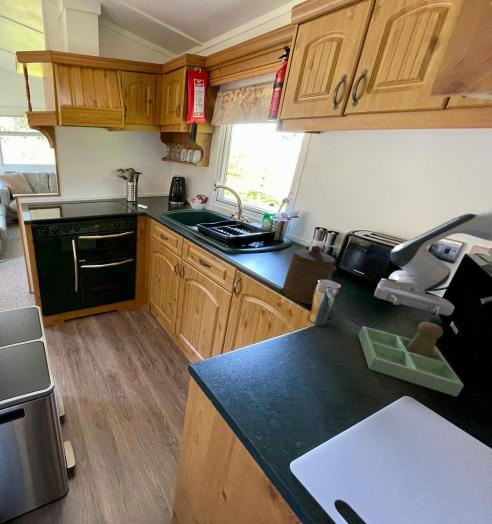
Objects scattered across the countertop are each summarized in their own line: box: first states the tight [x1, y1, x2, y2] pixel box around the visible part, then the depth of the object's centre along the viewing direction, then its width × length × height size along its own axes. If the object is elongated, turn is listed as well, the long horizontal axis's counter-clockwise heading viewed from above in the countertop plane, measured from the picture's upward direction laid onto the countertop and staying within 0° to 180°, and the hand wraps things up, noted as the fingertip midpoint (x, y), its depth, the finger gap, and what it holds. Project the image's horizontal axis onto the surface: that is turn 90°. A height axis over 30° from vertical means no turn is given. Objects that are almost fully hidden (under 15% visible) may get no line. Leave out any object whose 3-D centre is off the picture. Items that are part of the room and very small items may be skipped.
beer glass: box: [306, 279, 342, 327], centre depth 99 cm, size 7×7×15 cm
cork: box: [406, 321, 444, 358], centre depth 84 cm, size 6×6×11 cm
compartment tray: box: [358, 325, 465, 398], centre depth 83 cm, size 18×18×4 cm
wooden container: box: [282, 245, 336, 305], centre depth 117 cm, size 15×15×22 cm
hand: (416, 307), depth 93 cm, fingers open, 8 cm apart
